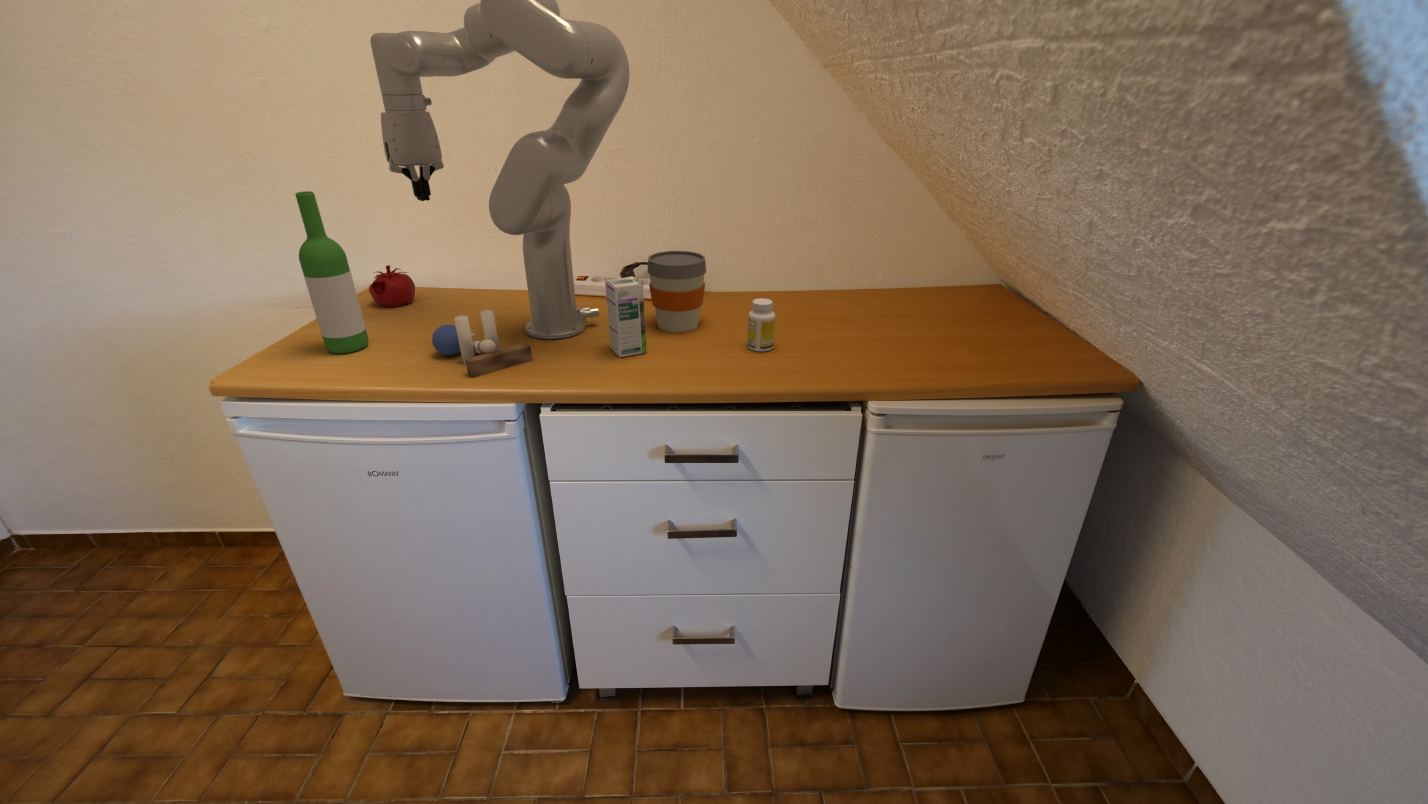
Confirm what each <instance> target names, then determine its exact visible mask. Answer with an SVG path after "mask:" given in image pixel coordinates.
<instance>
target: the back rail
mask: <svg viewBox="0 0 1428 804" xmlns="http://www.w3.org/2000/svg"><path fill="white" fill-rule="evenodd" d="M533 360H534V359H533V352H532V346H531V345H530V344H529V343H527V342H524V343H519V344H516V345H513V346H510V347H505V348H502V349H500V350H497V351H494V352H490V353H482V354H479V355H475V357H472V358H468V359H465V361H466V364H465V365H466V371H467V375H468V376H469V377H471V378H473V379H474V378H476V377H479V376H483V375H486V373H487V374H490V373H493V372H496V371H500V370H503V369H507V368H511V367H514V366H516V365H521V364H525V363H527V362H531V361H533Z"/></svg>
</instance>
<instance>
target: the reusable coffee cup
mask: <svg viewBox="0 0 1428 804" xmlns="http://www.w3.org/2000/svg"><path fill="white" fill-rule="evenodd" d="M647 273H648V274H649V280H650V282H649V284H648V286H649V292H650V293H649V294H650V297H651V304H652V306H653V307H654V309H655V316H656V321H657V326H658V328H659V329H660V330H661V331H664V332H665V331H666V332H670V333H683V332H684V333H686V332H690V331H693V330H695V329H697V327H698V326H699V322H700V321H699V319H700V314H701V313H700V311H701V307H703V302H704V295H705V288H706V283H705V274H706V273H707V264H706V257H705V255H703V254H701V253H698V252H694V251H688V250H687V251H686V250H668V251H660V252H656V253H653V254H651V255H649V256H648V259H647Z"/></svg>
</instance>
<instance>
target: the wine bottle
mask: <svg viewBox="0 0 1428 804" xmlns="http://www.w3.org/2000/svg"><path fill="white" fill-rule="evenodd" d="M294 195H295V198H296V202H297V205H298V208H299V213H300V216H301V218H302V219H301V220H302V223H303V226H304V229H305V233H306V239H305V241H304V242H303V243H302V244H301V246H300V248H299V251H298V260H299V264H300V266H301V270H302V274H303V277H304V281H305V284H306V287H307V291H308V294H309V298H310V301H311V304H312V308H313V311H314V314H315V317H316V321H317V324H318V328H319V330H320V331H319V332H320V333H321V337H322V339H323V343H324V345H325V348H326V350H327V351H329V352H330V353H333V354H351V353H354V352H357V351H360V350H362V349H364V348H366V347H367V346H368V344H369V335H368V331H367V328H366V323H365V320H364V317H363V312H362V309H361V305H360V302H359V298H358V295H357V294H358V293H357V290H356V287H355V283H354V280H353V276H352V272H351V269H350V265H349V262H348V258H347V257H348V256H347V255H346V252H345V251H344V249H343V247H342V246H341V245H340V244H339V243H338V242H337V241H336V240H334V239H333V238H330V237H329V236H328V235H327V234H326V229H325V226H324V223H323V220H322V216H321V213H320V210H319V205H318V201H317V199H316V195H315V193H314V192H313V191H310V190H309V191H307V190H306V191H299V192H296V193H295V194H294Z"/></svg>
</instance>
